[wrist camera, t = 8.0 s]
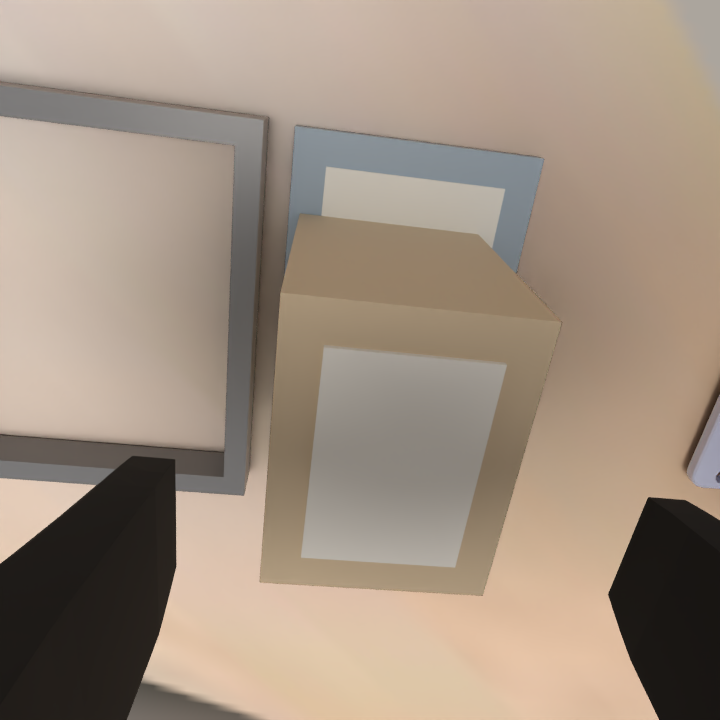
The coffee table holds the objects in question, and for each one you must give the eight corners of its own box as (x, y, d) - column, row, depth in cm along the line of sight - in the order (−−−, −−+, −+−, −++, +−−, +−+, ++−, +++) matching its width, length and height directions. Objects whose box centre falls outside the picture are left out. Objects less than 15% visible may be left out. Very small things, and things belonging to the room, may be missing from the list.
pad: (538, 157, 15) (545, 159, 14) (459, 484, 19) (463, 493, 18) (296, 125, 14) (295, 126, 14) (270, 469, 18) (268, 479, 18)
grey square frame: (269, 117, 14) (263, 120, 13) (249, 470, 18) (244, 495, 17) (-124, 65, 13) (-165, 64, 12) (-48, 448, 17) (-74, 472, 16)
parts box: (478, 234, 15) (563, 324, 9) (435, 435, 17) (484, 599, 12) (299, 213, 14) (280, 294, 9) (282, 422, 17) (258, 586, 11)
